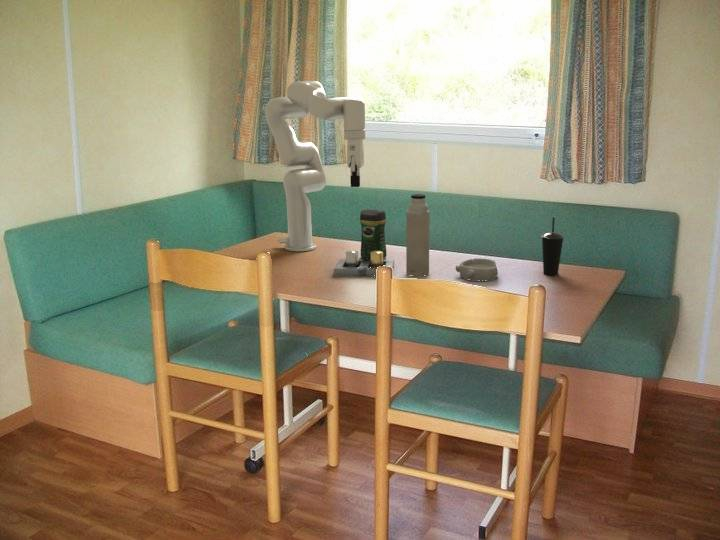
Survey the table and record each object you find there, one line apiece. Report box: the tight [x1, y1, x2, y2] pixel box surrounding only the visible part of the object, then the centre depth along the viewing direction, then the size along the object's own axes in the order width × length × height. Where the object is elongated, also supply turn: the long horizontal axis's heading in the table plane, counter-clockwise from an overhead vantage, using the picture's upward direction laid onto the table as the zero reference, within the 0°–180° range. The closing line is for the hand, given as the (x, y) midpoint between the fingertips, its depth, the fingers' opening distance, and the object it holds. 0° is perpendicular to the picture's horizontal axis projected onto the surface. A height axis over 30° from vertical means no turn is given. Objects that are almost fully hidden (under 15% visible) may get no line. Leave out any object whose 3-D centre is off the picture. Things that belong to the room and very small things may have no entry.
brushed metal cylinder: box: [345, 249, 359, 268], centre depth 275 cm, size 4×4×7 cm
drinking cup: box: [540, 217, 565, 277], centre depth 265 cm, size 8×8×20 cm
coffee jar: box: [359, 208, 387, 260], centre depth 291 cm, size 10×8×19 cm
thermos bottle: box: [405, 193, 431, 277], centre depth 267 cm, size 8×8×28 cm
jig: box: [333, 258, 395, 277], centre depth 275 cm, size 20×14×2 cm
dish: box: [455, 258, 499, 282], centre depth 266 cm, size 14×14×5 cm
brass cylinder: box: [371, 251, 384, 268], centre depth 274 cm, size 4×4×7 cm
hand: (355, 186), depth 276 cm, fingers closed
